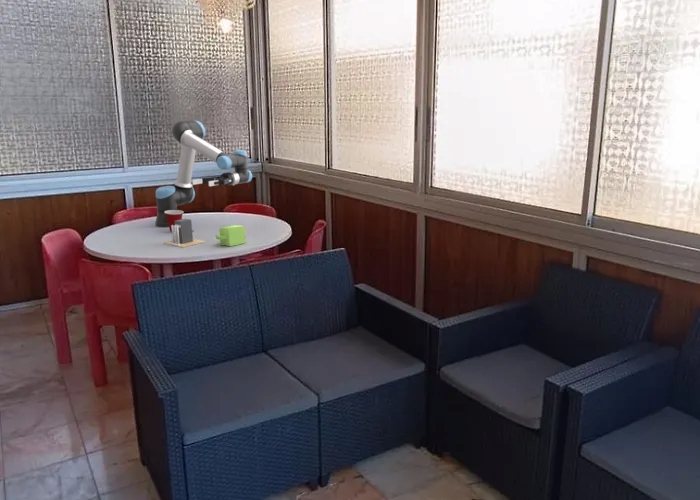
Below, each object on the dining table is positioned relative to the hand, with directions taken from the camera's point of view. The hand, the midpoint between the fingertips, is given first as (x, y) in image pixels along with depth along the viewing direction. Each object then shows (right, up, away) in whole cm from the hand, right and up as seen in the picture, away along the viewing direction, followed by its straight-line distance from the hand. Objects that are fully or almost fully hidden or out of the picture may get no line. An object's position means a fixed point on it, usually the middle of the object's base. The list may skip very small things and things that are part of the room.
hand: (200, 183), depth 325 cm
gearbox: (+20, -34, -11) cm, 41 cm away
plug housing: (-6, -33, -8) cm, 34 cm away
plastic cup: (-20, -26, +21) cm, 39 cm away
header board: (-6, -33, -8) cm, 35 cm away
